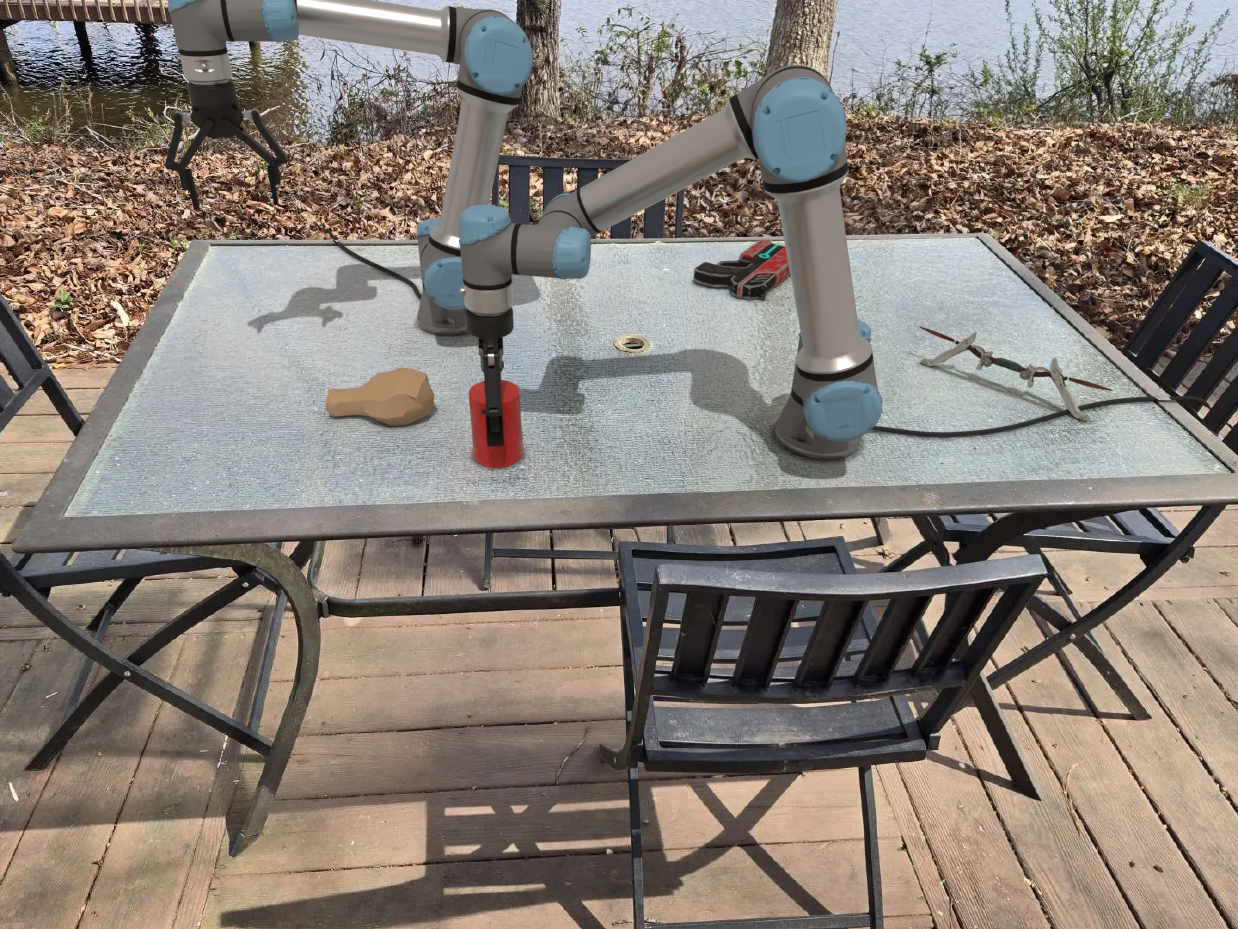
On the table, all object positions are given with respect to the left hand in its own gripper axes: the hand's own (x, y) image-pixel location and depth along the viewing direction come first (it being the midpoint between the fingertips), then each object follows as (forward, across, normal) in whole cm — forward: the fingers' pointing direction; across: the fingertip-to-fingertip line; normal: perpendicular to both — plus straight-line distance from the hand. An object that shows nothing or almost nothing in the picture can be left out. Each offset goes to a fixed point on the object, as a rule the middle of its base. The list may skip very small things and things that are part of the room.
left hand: (237, 205), depth 160 cm
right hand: (+26, +38, -45) cm, 65 cm away
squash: (+32, +20, -27) cm, 47 cm away
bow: (+32, +140, -47) cm, 151 cm away
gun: (+32, +116, +21) cm, 122 cm away
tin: (+32, +38, -45) cm, 67 cm away
